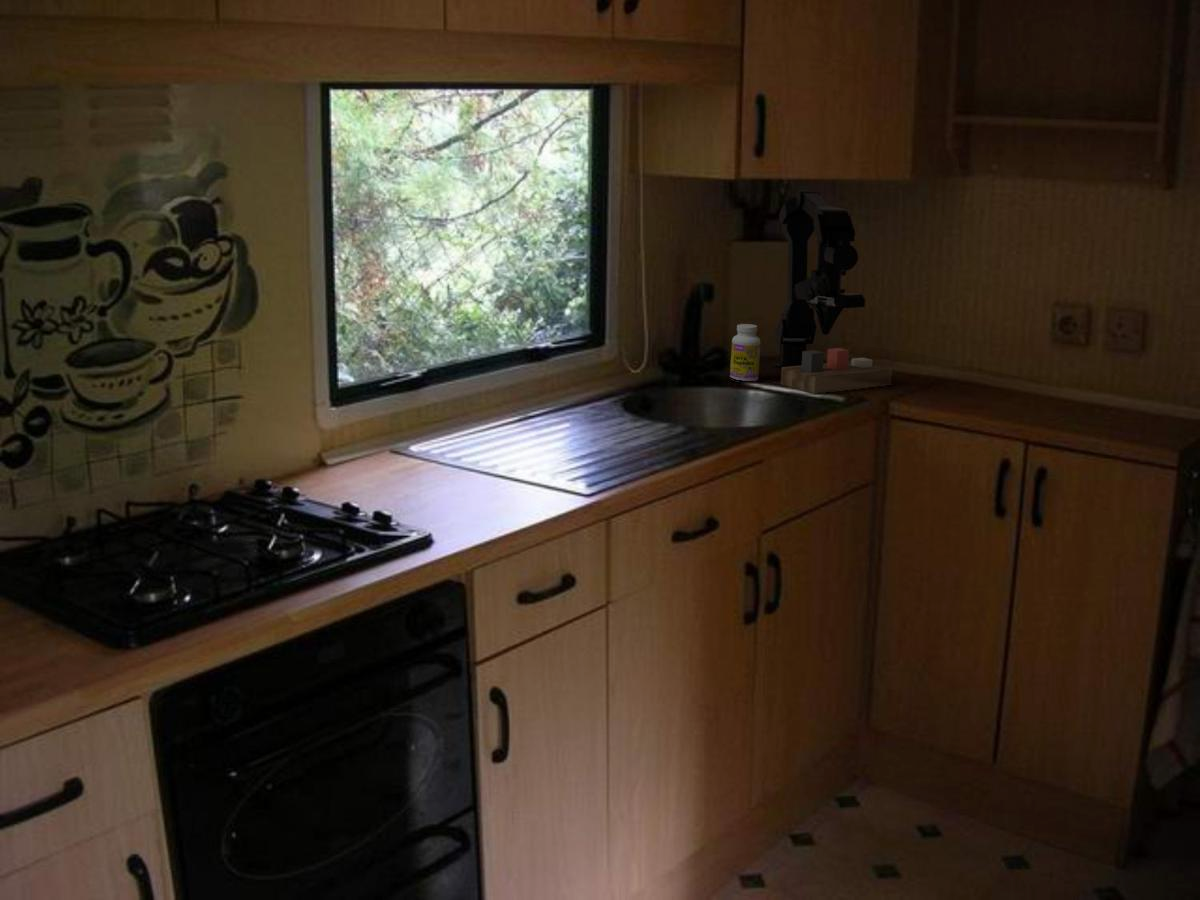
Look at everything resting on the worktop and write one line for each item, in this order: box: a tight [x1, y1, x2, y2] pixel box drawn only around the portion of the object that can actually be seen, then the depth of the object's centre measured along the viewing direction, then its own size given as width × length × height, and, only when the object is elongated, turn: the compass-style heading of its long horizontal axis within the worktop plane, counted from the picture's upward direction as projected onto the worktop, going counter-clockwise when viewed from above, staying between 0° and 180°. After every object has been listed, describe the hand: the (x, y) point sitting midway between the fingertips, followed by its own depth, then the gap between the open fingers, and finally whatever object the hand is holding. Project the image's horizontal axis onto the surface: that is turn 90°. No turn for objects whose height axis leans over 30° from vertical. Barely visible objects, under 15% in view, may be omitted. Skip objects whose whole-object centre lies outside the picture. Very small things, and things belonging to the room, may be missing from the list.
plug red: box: [826, 347, 850, 370], centre depth 315 cm, size 3×3×5 cm
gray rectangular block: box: [801, 349, 825, 373], centre depth 311 cm, size 3×3×5 cm
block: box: [780, 359, 893, 395], centre depth 316 cm, size 12×23×4 cm, turn 121°
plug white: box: [851, 357, 873, 368], centre depth 319 cm, size 3×3×5 cm
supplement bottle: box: [729, 323, 761, 382], centre depth 318 cm, size 7×7×13 cm
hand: (825, 334), depth 311 cm, fingers closed
